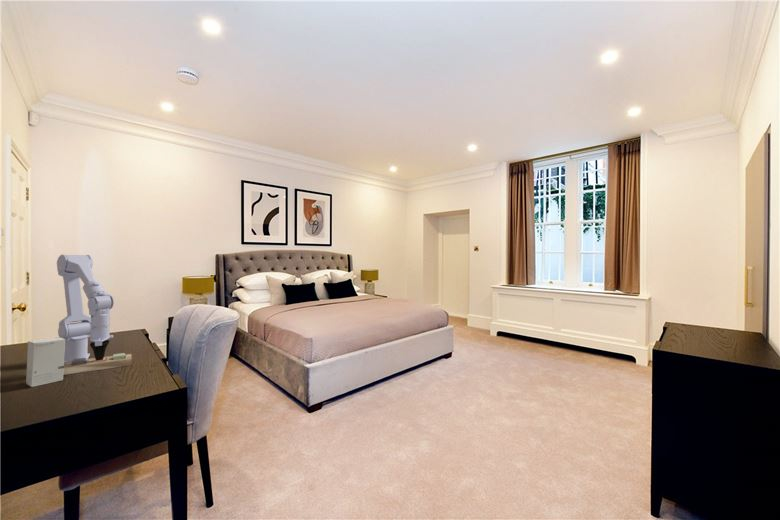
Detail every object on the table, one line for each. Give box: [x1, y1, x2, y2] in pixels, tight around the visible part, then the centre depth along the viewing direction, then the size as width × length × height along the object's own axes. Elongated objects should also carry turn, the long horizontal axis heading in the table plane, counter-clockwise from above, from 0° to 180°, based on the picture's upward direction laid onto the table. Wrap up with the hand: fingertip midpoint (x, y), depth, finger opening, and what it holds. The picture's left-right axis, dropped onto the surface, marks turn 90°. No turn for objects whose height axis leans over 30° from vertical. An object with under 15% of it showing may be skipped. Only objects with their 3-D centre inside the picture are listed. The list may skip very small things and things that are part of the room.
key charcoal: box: [72, 358, 86, 365], centre depth 127 cm, size 4×4×2 cm
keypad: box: [63, 353, 132, 376], centre depth 131 cm, size 9×20×2 cm, turn 128°
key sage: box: [112, 352, 126, 360], centre depth 135 cm, size 4×4×2 cm
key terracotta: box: [93, 358, 106, 363], centre depth 131 cm, size 4×4×2 cm
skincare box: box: [25, 336, 65, 388], centre depth 115 cm, size 8×6×15 cm
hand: (99, 359), depth 131 cm, fingers closed, pressing on key terracotta
